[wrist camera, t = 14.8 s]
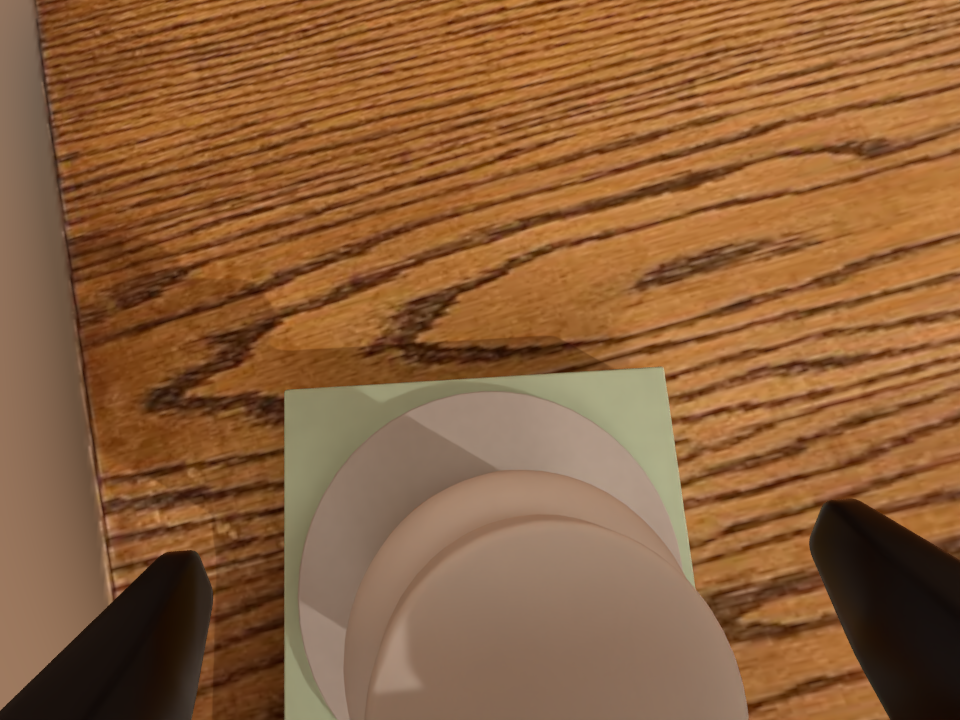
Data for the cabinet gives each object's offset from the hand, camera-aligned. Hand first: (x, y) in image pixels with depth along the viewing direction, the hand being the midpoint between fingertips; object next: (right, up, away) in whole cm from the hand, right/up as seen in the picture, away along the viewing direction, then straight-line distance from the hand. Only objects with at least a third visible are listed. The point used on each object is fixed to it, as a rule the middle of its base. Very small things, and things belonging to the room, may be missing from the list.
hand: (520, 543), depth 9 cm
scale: (0, -4, +10) cm, 10 cm away
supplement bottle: (0, -3, +7) cm, 8 cm away
